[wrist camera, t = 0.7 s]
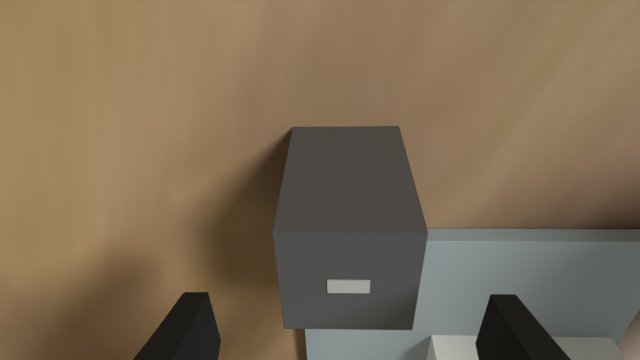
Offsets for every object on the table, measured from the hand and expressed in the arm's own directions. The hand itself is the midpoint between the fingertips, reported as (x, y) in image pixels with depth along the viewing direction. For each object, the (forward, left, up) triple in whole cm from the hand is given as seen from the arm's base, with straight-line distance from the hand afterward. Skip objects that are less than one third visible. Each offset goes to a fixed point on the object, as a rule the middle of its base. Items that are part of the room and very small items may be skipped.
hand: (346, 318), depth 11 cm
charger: (0, 0, -7) cm, 7 cm away
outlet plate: (-6, +11, -7) cm, 14 cm away
